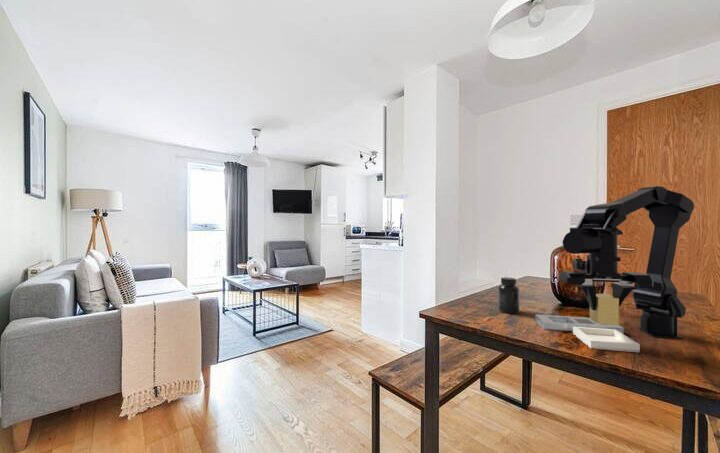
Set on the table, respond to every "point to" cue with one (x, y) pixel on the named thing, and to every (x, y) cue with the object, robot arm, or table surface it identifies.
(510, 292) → the supplement bottle
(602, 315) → the wood grain block
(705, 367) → the table surface
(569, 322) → the grey flat plate
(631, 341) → the tray
